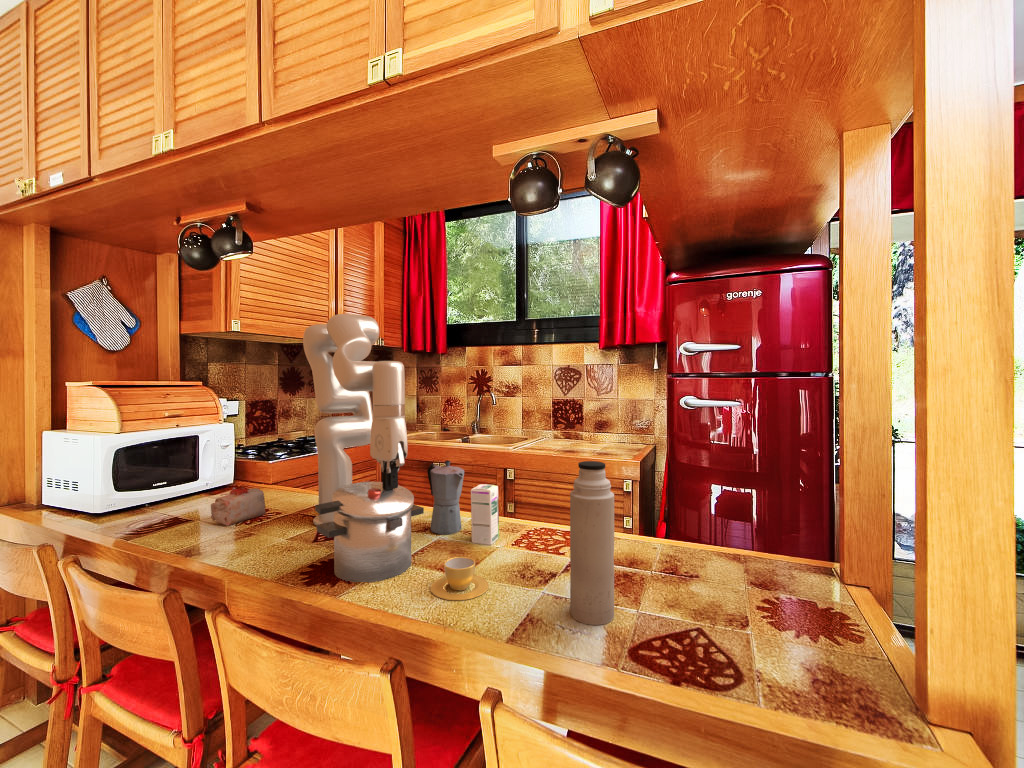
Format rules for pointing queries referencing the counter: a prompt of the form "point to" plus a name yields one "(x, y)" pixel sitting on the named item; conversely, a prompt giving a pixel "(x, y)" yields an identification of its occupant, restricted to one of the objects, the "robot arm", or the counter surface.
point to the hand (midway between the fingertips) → (390, 488)
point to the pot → (370, 546)
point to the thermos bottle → (592, 546)
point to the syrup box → (485, 514)
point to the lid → (369, 502)
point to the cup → (459, 579)
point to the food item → (238, 506)
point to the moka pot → (445, 497)
